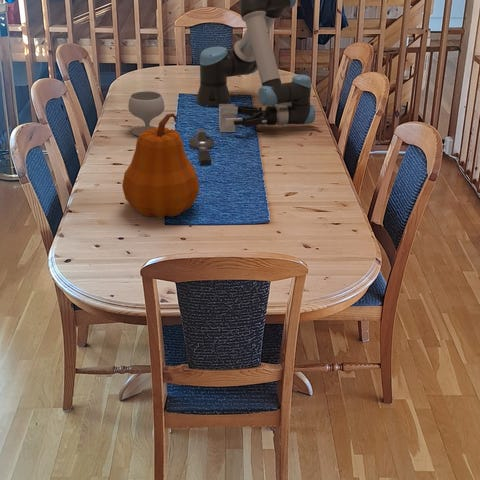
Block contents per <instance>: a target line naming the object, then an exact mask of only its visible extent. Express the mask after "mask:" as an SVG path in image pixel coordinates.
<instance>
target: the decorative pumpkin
mask: <svg viewBox="0 0 480 480" xmlns="http://www.w3.org/2000/svg"><path fill="white" fill-rule="evenodd" d="M170 118H173V121H174V123H177V119H178V117H177V116H176V114H174V113H168V114H166V115H165V116H163V118H162V119H161V120H160V121H159V123H158V126H154V127H155V128H153V129H152V130H150V129H147V130H144V131H143V132H142V134H140V135H139V136H137V139H136V144H135V150H134V154H133V157H132V159H131V162H130V164H129V166H128V167H127V169H126V170H125V172H124V176H123V179H122V185H121V186H122V191H123V195H124V198H125V201H127V202H128V204H129V205H130V206H131V207H132V208H133V209H134V210H137V212H138V213H139V214H140V215H143V216H146V217H148V218H149V217H152V216H153V217H154V216H155V217H157V218H158V219H161V218H163V217H165V216H167V217H170V216H173V217H176V215H177V216H178V215H180V214H182V212H185V211H187V210H189V209H190V208H191V206H192V205H193V204H194V203H195V201H196V200H197V198H198V196H199V192H200V187H201V186H200V182H199V179H198V175H197V172H196V170H195V167H194V165H193V164H192V163H191V161H190V160H189V159H188V156H187V155H186V151H185V148H184V144H183V140H182V138H181V135H180V134H179V132H178V131H177V130H175V129H173V128H168V127H166V125H167V124H168V121H169V120H170Z"/></svg>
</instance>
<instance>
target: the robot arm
mask: <svg viewBox="0 0 480 480" xmlns="http://www.w3.org/2000/svg"><path fill="white" fill-rule="evenodd" d="M296 3H297V0H239V13H240V17H241V20H242V21H243V22H244V23H245V25H246V30H245V32H244V33H243V35H242V37H241V39H240V40H237V41H236V42H235V43H234V45H233V47H232V48H230V49H228V48H226V47H224V46H210V47H207V48H204V49H203V50H202V51H201V52H200V55H199V89H198V92H197V95H196V100H195V101H196V104H198V103H199V104H202V105H208V106H219V104H228V103H230V104H231V102H230V101H232V99H231V95H230V91H229V89H228V88H229V87H228V85H227V83H228V78H230V77H237V76H248V75H250V74H253V73H256V72H257V71H258V74H259V75H258V76H259V78H260V82H261V86H260V88H259V89H258V92H257V94H258V101H259V102H260V104H261V105H262V106H266V107H265V110H264V109H263V107H262V106H261V107H259V106H258V107H257V106H250V105H249V106H248V105H238V106H237V107H236V106H235V108H236V116H238V115H245V116H248V117H238V118H237V117H236V118H228V119H225V126H238V127H239V126H242V127H244V128H246V129H247V128H250V127H255V126H260V125H267V126H275V125H278V126H280V125H281V126H284V125H308V124H313V123H314V122H315V120H316V108H315V105H313V104H311V93H312V92H311V91H312V79H311V76H309V75H306V74H295V75H293V76H292V77H291V79H292V80H291V82H285V83H284V82H282V80H281V77H280V73H279V68H278V65H277V61H276V57H275V53H274V49H273V45H272V42H271V38H270V34H269V31H270V30H271V28H272V26H273V24H274V23H275V22H276V19H279V18H281V17H282V16H283V15H284V13H285V10H287V9H288V10H290V9H292V8H294V7H295V5H296ZM286 102H291V105H279V104H281V103H286ZM199 104H198V105H199ZM202 105H201V106H202ZM272 105H276V106H277V107H276V106H272Z"/></svg>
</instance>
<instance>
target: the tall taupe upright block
mask: <svg viewBox="0 0 480 480" xmlns="http://www.w3.org/2000/svg"><path fill="white" fill-rule="evenodd" d="M235 107H236V105H235V103H230V104H219V107H218V130H219V129H220V130H219V133H220V134H222V133H221V132H235V133H236V130H237V129H236V126H225V119H228V118H237V117H236V116H237V114H236V108H235Z"/></svg>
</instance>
